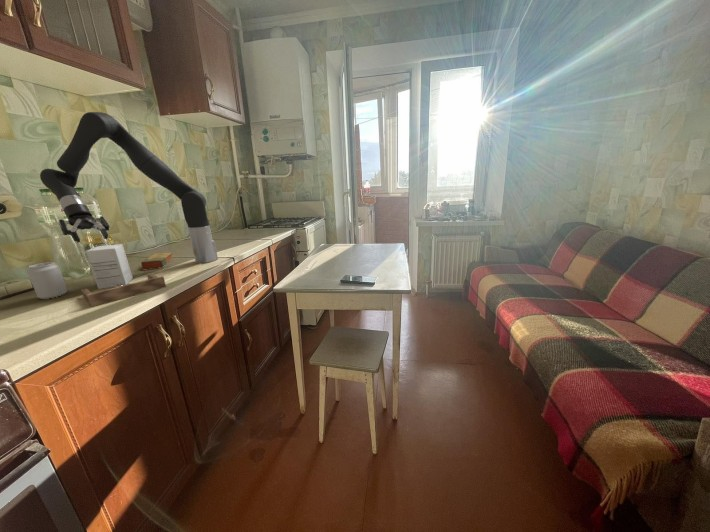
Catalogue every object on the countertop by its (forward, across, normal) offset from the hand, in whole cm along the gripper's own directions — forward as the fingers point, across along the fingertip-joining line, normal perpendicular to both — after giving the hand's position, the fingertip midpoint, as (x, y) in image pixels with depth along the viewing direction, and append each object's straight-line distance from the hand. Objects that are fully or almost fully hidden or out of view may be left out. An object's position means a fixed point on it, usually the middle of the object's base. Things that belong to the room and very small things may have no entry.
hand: (92, 239), depth 113 cm
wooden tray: (+31, -2, -10) cm, 32 cm away
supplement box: (+22, 0, 0) cm, 22 cm away
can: (+19, -17, +5) cm, 26 cm away
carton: (+12, +22, +11) cm, 27 cm away
